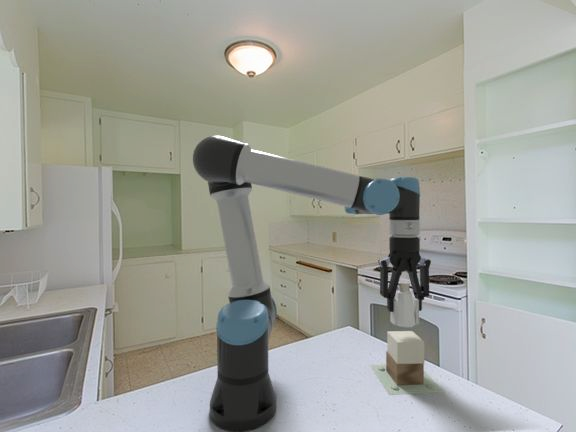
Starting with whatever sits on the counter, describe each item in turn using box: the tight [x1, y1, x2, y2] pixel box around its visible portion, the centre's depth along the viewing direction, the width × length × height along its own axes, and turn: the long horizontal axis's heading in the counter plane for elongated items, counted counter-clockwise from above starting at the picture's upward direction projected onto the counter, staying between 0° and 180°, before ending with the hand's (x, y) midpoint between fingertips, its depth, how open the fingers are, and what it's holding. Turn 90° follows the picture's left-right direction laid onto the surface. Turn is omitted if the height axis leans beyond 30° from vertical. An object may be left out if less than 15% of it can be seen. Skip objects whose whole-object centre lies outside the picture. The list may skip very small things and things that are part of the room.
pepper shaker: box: [395, 281, 416, 328], centre depth 79 cm, size 5×5×11 cm
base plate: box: [369, 363, 445, 396], centre depth 80 cm, size 14×14×1 cm
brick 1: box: [386, 330, 425, 364], centre depth 79 cm, size 7×7×6 cm
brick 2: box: [385, 351, 425, 386], centre depth 79 cm, size 7×7×6 cm
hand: (404, 322), depth 79 cm, fingers closed on pepper shaker, 5 cm apart
